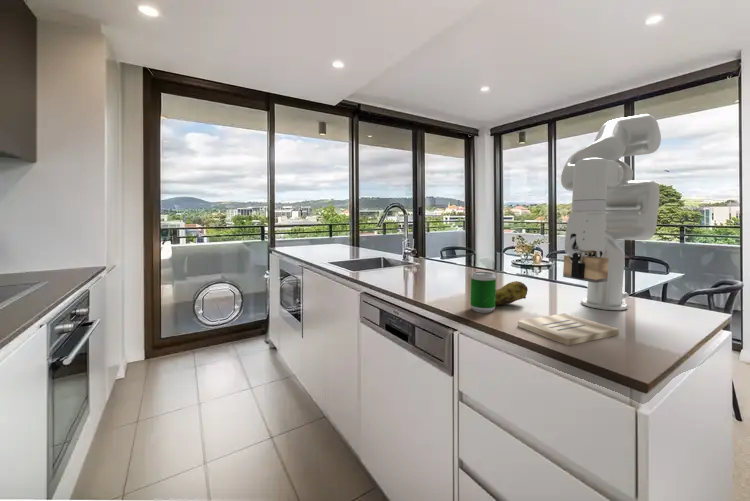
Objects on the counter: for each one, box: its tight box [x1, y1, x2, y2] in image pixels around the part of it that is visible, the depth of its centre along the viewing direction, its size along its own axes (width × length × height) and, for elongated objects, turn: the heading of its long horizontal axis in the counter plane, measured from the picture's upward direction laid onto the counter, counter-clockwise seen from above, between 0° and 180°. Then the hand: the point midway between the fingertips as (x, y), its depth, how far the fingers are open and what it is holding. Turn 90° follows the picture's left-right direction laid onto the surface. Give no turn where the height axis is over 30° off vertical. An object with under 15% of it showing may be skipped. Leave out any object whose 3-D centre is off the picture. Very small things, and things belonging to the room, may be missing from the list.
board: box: [517, 313, 620, 346], centre depth 88 cm, size 18×15×2 cm
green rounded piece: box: [495, 280, 529, 306], centre depth 113 cm, size 8×13×8 cm, turn 76°
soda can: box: [470, 271, 497, 314], centre depth 107 cm, size 8×8×12 cm
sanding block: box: [562, 254, 609, 283], centre depth 88 cm, size 4×9×6 cm, turn 22°
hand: (584, 276), depth 89 cm, fingers closed on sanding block, 4 cm apart
